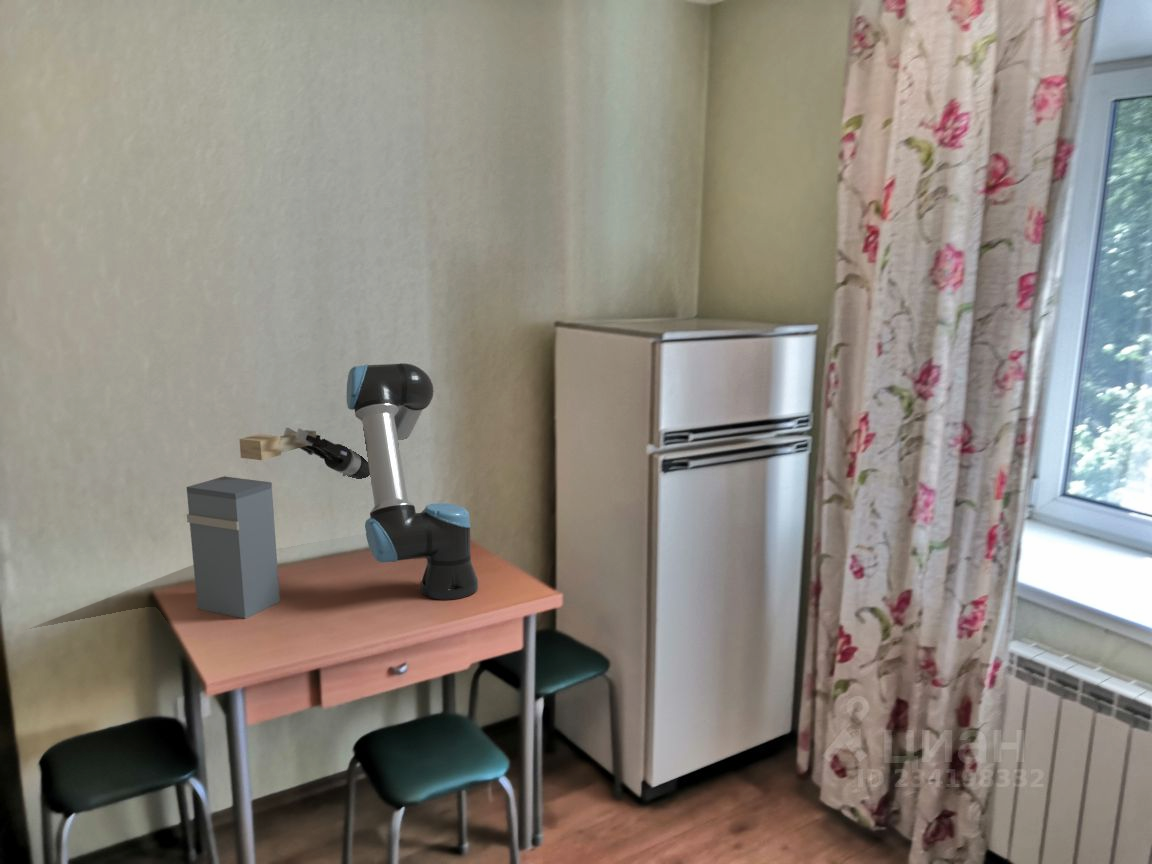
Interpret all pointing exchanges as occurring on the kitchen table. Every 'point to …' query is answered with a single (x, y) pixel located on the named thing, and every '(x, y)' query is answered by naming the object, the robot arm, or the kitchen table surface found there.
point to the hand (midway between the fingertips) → (291, 432)
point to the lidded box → (233, 546)
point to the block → (269, 445)
